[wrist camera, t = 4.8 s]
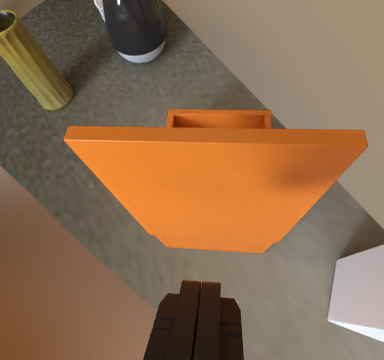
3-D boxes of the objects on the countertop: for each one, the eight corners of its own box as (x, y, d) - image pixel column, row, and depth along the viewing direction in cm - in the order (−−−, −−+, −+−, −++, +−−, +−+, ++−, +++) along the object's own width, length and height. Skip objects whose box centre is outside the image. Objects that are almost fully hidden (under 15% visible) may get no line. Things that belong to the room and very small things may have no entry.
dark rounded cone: (142, 27, 54) (117, -68, 40) (181, 47, 50) (167, -49, 37) (106, 57, 51) (65, -33, 37) (144, 80, 48) (114, -9, 34)
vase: (51, 81, 50) (-7, 4, 37) (79, 87, 48) (29, 10, 35) (34, 106, 47) (-35, 34, 34) (63, 113, 46) (2, 41, 33)
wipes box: (177, 146, 41) (168, 109, 33) (260, 147, 40) (271, 109, 32) (166, 247, 35) (150, 231, 27) (263, 253, 34) (277, 239, 26)
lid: (68, 125, 12) (63, 140, 12) (364, 129, 11) (368, 146, 10) (150, 226, 27) (149, 234, 26) (278, 233, 25) (279, 242, 25)
